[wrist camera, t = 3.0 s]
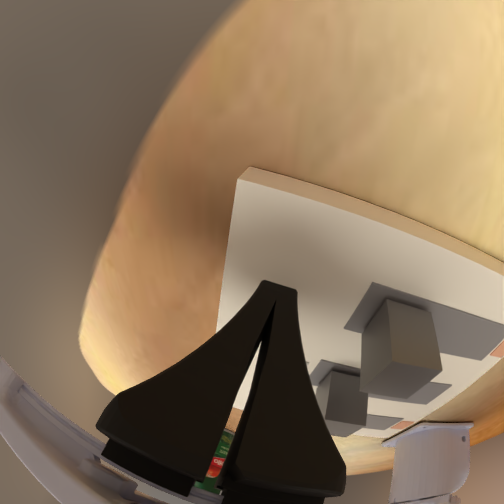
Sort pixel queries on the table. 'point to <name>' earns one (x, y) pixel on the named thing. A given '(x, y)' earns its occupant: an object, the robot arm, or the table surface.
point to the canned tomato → (217, 463)
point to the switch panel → (362, 286)
